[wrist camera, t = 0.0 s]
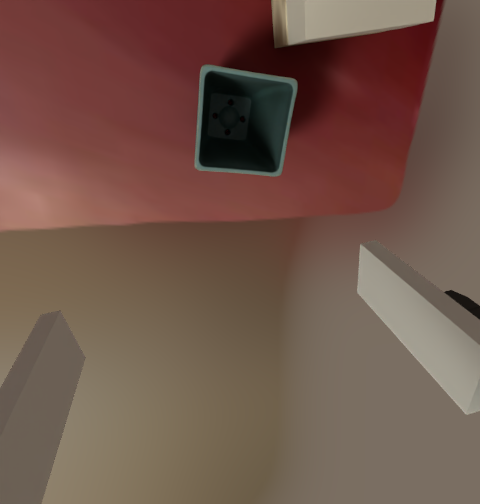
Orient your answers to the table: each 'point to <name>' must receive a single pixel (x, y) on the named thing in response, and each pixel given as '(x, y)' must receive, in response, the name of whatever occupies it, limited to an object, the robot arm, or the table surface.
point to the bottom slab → (281, 25)
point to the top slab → (352, 17)
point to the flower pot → (251, 129)
